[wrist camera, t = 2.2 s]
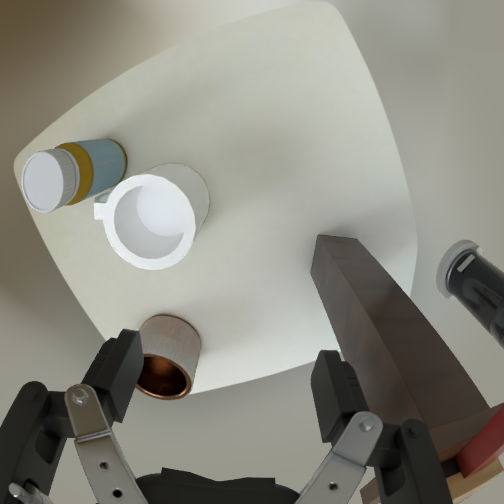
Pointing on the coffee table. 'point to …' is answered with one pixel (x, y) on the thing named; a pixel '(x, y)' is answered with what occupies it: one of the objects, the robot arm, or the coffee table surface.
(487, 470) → the brush
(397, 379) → the stand
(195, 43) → the coffee table surface
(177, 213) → the mug
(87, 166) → the bottle
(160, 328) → the planter
